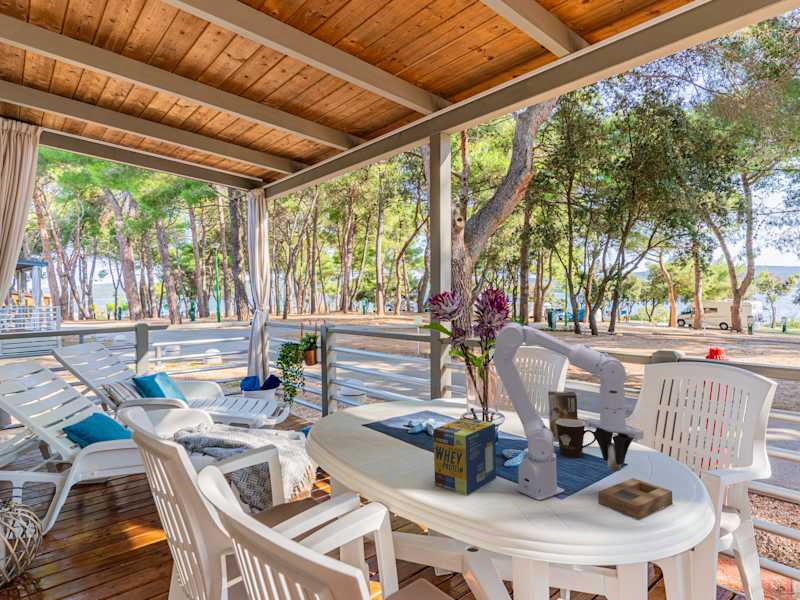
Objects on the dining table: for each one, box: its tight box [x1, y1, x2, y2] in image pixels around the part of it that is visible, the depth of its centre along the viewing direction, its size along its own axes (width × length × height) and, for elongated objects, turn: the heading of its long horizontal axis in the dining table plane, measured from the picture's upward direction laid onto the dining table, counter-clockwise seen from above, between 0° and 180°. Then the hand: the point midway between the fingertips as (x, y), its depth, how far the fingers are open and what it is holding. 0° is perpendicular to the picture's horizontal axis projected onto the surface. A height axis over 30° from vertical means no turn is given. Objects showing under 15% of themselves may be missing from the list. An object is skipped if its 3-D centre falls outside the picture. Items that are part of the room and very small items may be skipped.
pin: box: [606, 442, 622, 472], centre depth 118 cm, size 3×3×6 cm
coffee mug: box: [556, 419, 597, 459], centre depth 149 cm, size 12×9×10 cm
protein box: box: [433, 417, 497, 496], centre depth 131 cm, size 10×15×16 cm
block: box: [597, 477, 673, 520], centre depth 115 cm, size 14×10×3 cm
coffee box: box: [547, 390, 579, 442], centre depth 166 cm, size 9×6×16 cm
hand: (613, 461), depth 118 cm, fingers closed on pin, 3 cm apart
